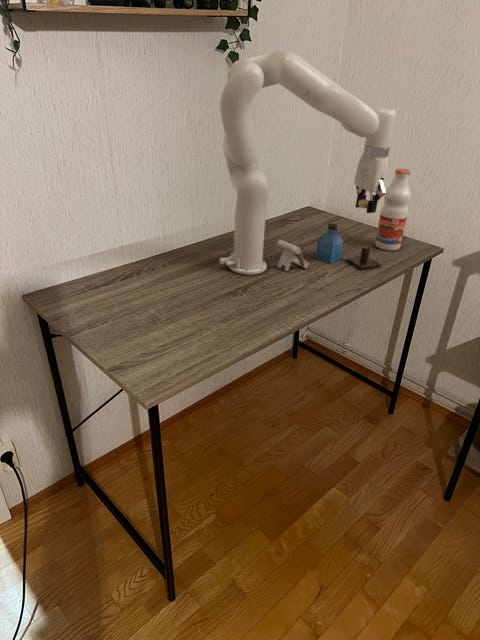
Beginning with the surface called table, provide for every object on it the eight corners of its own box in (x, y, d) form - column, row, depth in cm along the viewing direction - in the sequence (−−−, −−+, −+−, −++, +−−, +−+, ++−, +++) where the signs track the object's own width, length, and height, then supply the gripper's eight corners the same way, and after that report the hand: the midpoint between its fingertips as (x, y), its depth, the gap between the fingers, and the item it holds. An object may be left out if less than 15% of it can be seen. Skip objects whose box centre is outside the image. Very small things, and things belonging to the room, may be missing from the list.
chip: (364, 209, 156) (365, 204, 155) (354, 204, 160) (355, 200, 159) (377, 208, 158) (378, 203, 157) (367, 203, 162) (368, 199, 161)
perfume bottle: (315, 257, 171) (319, 224, 165) (326, 253, 175) (330, 221, 169) (330, 263, 167) (335, 229, 161) (340, 258, 171) (345, 225, 165)
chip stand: (360, 270, 164) (363, 253, 161) (346, 260, 170) (349, 244, 167) (380, 266, 166) (383, 250, 164) (365, 258, 173) (368, 242, 170)
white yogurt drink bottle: (399, 243, 187) (415, 168, 173) (401, 252, 179) (418, 174, 165) (374, 240, 189) (388, 165, 175) (374, 249, 181) (389, 171, 167)
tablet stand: (308, 268, 163) (311, 244, 159) (291, 273, 159) (294, 249, 154) (290, 259, 169) (292, 236, 164) (273, 264, 164) (275, 241, 160)
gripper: (349, 146, 156) (340, 203, 165) (383, 158, 142) (371, 219, 151) (369, 146, 158) (359, 201, 167) (404, 157, 145) (391, 217, 154)
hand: (365, 209), depth 159 cm, fingers closed on chip, 5 cm apart
